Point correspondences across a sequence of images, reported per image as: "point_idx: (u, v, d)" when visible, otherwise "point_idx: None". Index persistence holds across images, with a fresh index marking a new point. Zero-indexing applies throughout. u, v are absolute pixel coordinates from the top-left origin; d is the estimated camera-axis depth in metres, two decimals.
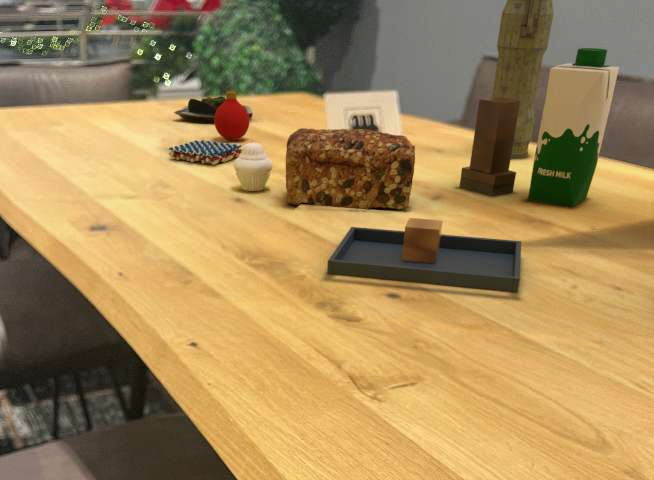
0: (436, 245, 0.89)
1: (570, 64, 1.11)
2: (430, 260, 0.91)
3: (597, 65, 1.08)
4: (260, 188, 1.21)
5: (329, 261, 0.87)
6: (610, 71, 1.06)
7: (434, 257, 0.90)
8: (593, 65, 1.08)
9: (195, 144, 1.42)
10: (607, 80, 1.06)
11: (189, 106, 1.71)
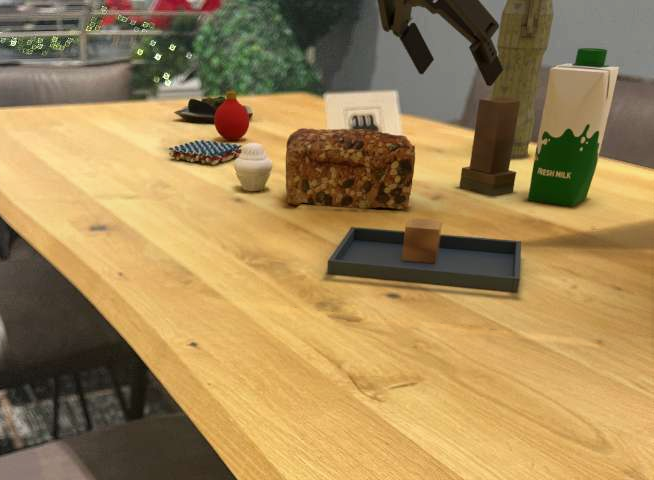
0: (436, 245, 0.89)
1: (570, 64, 1.11)
2: (430, 260, 0.91)
3: (597, 65, 1.08)
4: (260, 188, 1.21)
5: (329, 261, 0.87)
6: (610, 71, 1.06)
7: (434, 257, 0.90)
8: (593, 65, 1.08)
9: (195, 144, 1.42)
10: (607, 80, 1.06)
11: (189, 106, 1.71)
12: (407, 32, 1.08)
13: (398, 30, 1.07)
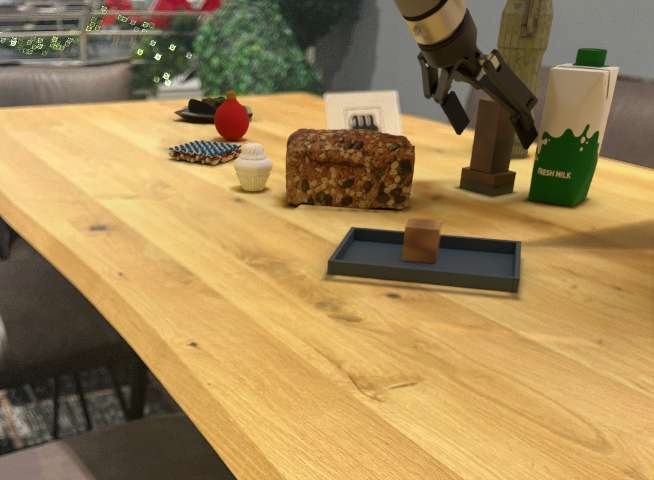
0: (436, 245, 0.89)
1: (570, 64, 1.11)
2: (430, 260, 0.91)
3: (597, 65, 1.08)
4: (260, 188, 1.21)
5: (329, 261, 0.87)
6: (610, 71, 1.06)
7: (434, 257, 0.90)
8: (593, 65, 1.08)
9: (195, 144, 1.42)
10: (607, 80, 1.06)
11: (189, 106, 1.71)
12: (447, 100, 1.18)
13: (439, 98, 1.18)
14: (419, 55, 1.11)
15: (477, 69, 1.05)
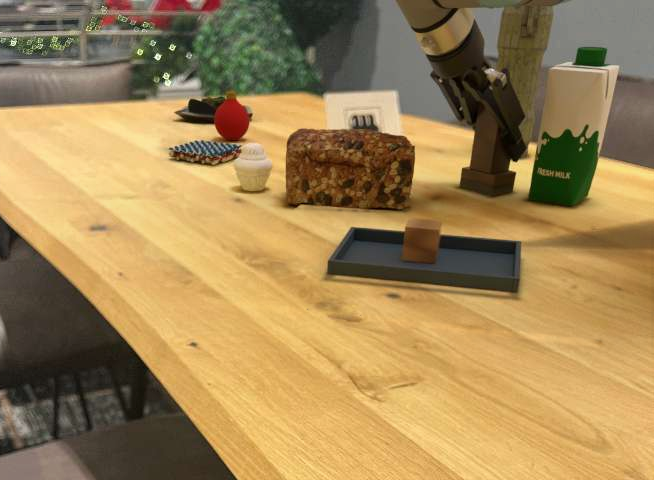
0: (436, 245, 0.89)
1: (570, 63, 1.11)
2: (430, 260, 0.91)
3: (597, 64, 1.08)
4: (260, 188, 1.21)
5: (329, 261, 0.87)
6: (609, 71, 1.06)
7: (434, 257, 0.90)
8: (593, 64, 1.08)
9: (195, 144, 1.42)
10: (606, 80, 1.06)
11: (189, 106, 1.71)
12: None
13: (470, 119, 1.18)
14: (431, 73, 1.14)
15: (484, 79, 1.07)
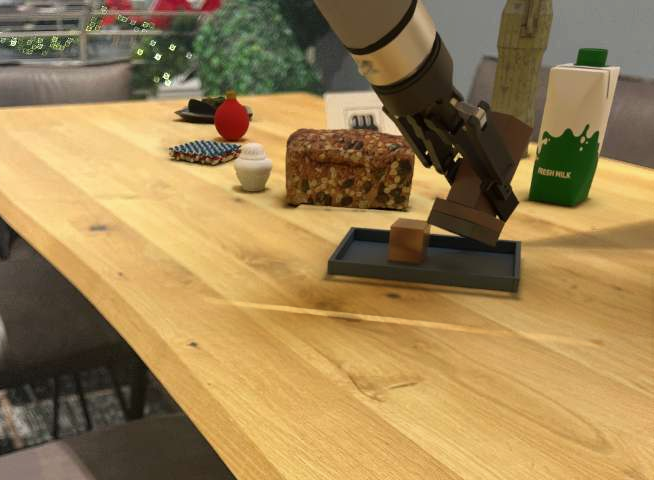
0: (421, 245, 0.89)
1: (571, 64, 1.11)
2: (415, 260, 0.90)
3: (598, 65, 1.08)
4: (260, 188, 1.21)
5: (329, 261, 0.87)
6: (610, 71, 1.06)
7: (419, 257, 0.90)
8: (594, 65, 1.08)
9: (195, 144, 1.42)
10: (607, 80, 1.06)
11: (189, 106, 1.71)
12: (454, 170, 0.87)
13: (439, 166, 0.86)
14: (383, 106, 0.82)
15: (455, 117, 0.75)
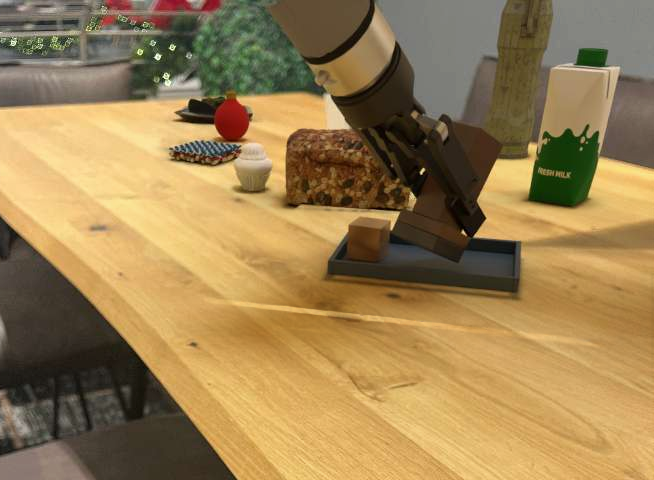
0: (378, 244, 0.89)
1: (571, 64, 1.11)
2: (373, 259, 0.91)
3: (598, 65, 1.08)
4: (260, 188, 1.21)
5: (329, 261, 0.87)
6: (610, 71, 1.06)
7: (377, 256, 0.90)
8: (594, 65, 1.08)
9: (195, 144, 1.42)
10: (607, 80, 1.06)
11: (189, 106, 1.71)
12: (420, 183, 0.85)
13: (404, 179, 0.84)
14: None
15: (416, 130, 0.73)
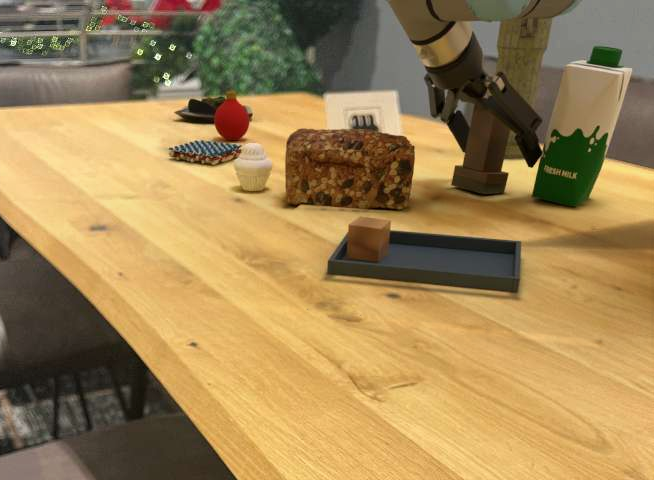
0: (378, 244, 0.89)
1: (584, 61, 1.10)
2: (373, 259, 0.91)
3: (611, 65, 1.07)
4: (260, 188, 1.21)
5: (329, 261, 0.87)
6: (624, 73, 1.05)
7: (377, 256, 0.90)
8: (608, 65, 1.07)
9: (195, 144, 1.42)
10: (621, 82, 1.05)
11: (189, 106, 1.71)
12: (454, 119, 1.21)
13: (446, 118, 1.20)
14: (426, 76, 1.13)
15: (483, 90, 1.08)
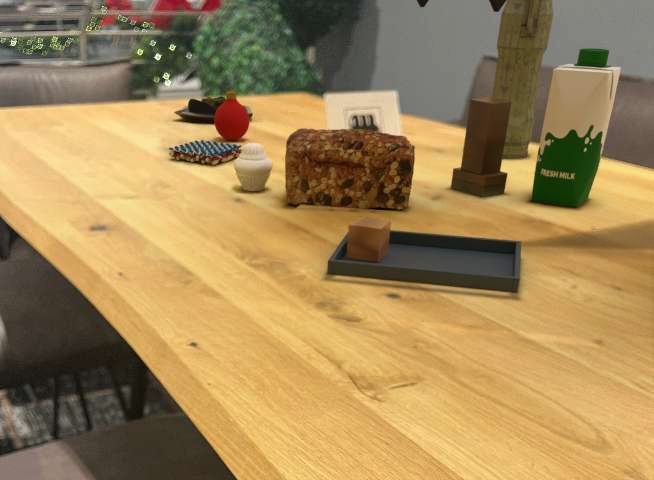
0: (378, 244, 0.89)
1: (572, 64, 1.11)
2: (373, 259, 0.91)
3: (600, 65, 1.08)
4: (260, 188, 1.21)
5: (329, 261, 0.87)
6: (613, 71, 1.06)
7: (377, 256, 0.90)
8: (596, 65, 1.08)
9: (195, 144, 1.42)
10: (611, 80, 1.06)
11: (189, 106, 1.71)
12: None
13: None
14: None
15: None
